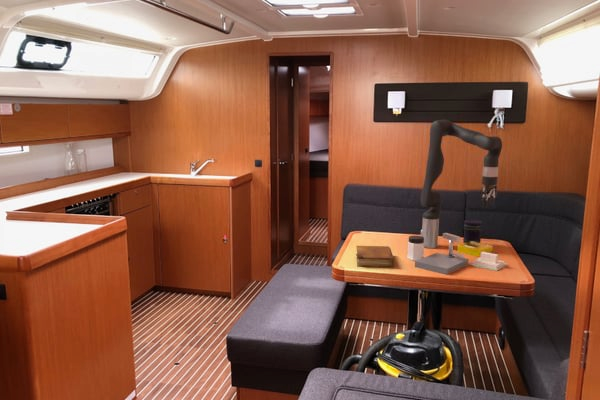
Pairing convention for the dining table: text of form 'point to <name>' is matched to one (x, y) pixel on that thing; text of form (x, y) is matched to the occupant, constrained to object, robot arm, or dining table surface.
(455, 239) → the t key
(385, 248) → the diary
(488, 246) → the element tile
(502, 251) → the dining table surface
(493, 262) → the cover
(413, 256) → the jar
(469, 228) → the storage jar
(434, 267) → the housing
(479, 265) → the mat
